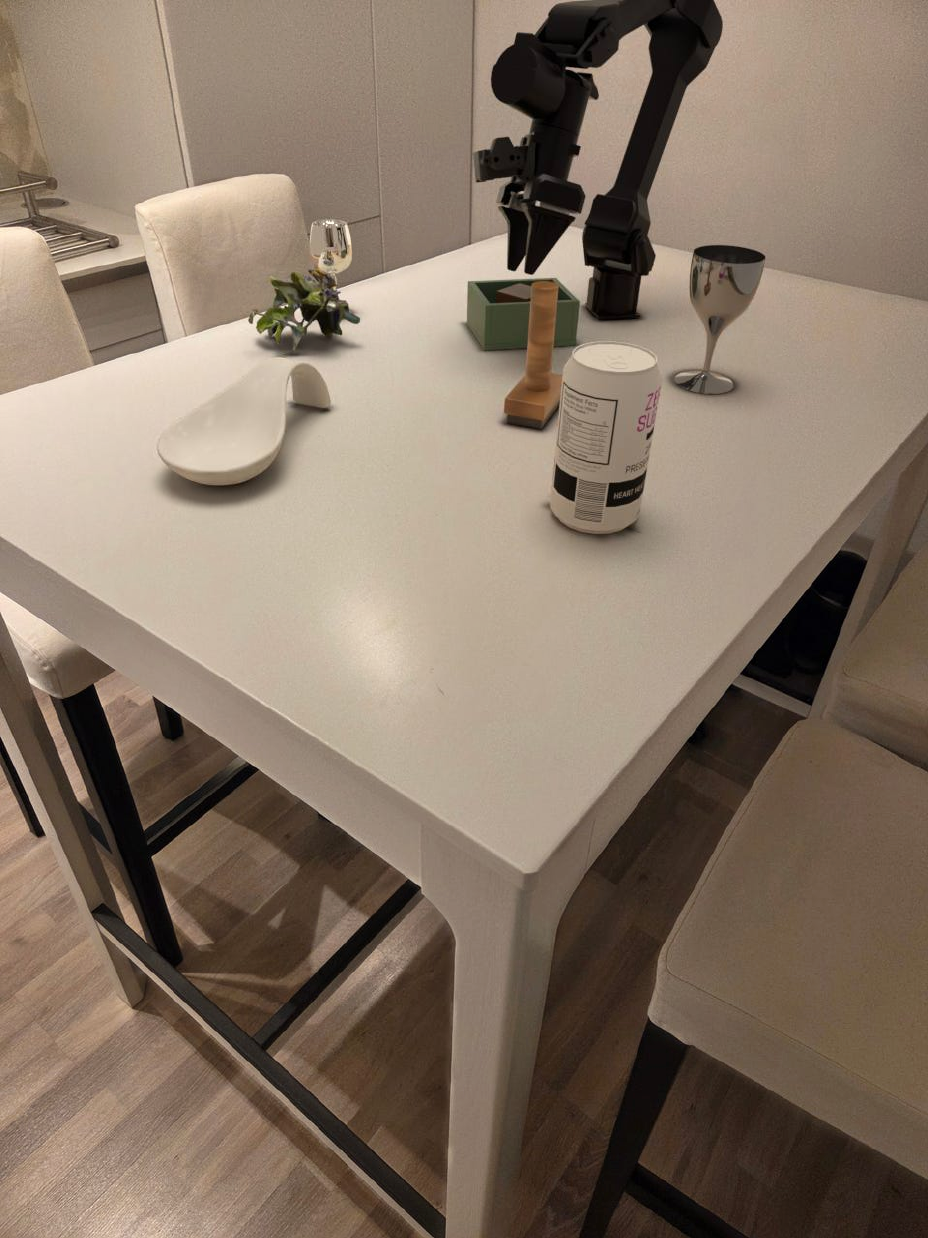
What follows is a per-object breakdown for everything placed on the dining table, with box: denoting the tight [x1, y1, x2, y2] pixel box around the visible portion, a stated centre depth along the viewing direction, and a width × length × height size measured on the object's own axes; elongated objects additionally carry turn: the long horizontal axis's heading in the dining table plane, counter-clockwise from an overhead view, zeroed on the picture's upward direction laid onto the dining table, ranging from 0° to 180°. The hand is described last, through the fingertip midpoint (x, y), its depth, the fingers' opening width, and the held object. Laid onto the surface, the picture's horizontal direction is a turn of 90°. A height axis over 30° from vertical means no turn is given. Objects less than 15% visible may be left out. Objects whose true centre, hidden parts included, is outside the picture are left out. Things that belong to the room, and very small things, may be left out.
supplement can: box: [549, 340, 663, 535], centre depth 75 cm, size 8×8×15 cm
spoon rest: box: [156, 356, 332, 486], centre depth 87 cm, size 24×12×7 cm, turn 160°
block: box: [496, 283, 532, 303], centre depth 116 cm, size 5×5×5 cm
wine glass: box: [674, 244, 766, 395], centre depth 101 cm, size 8×8×15 cm
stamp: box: [503, 281, 563, 430], centre depth 94 cm, size 5×9×14 cm, turn 159°
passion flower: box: [247, 268, 361, 356], centre depth 111 cm, size 11×11×12 cm
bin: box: [466, 277, 581, 351], centre depth 116 cm, size 13×11×6 cm
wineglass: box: [309, 219, 353, 313], centre depth 119 cm, size 6×6×12 cm
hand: (519, 272), depth 105 cm, fingers open, 9 cm apart
